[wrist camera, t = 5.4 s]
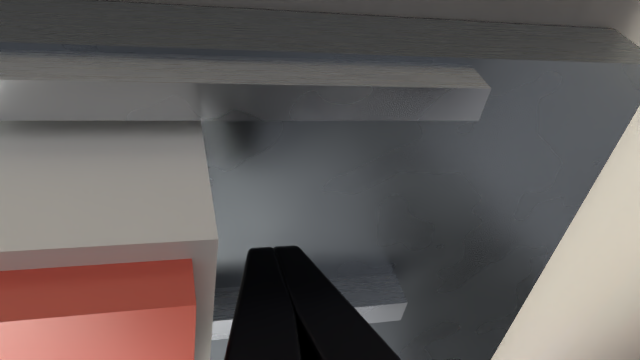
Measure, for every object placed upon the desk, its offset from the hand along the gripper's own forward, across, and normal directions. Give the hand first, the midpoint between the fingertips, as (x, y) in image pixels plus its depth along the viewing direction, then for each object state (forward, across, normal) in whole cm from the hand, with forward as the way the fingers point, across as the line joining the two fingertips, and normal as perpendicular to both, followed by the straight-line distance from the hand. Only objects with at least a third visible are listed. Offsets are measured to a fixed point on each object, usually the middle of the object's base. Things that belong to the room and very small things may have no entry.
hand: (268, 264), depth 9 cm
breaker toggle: (+2, +3, 0) cm, 3 cm away
